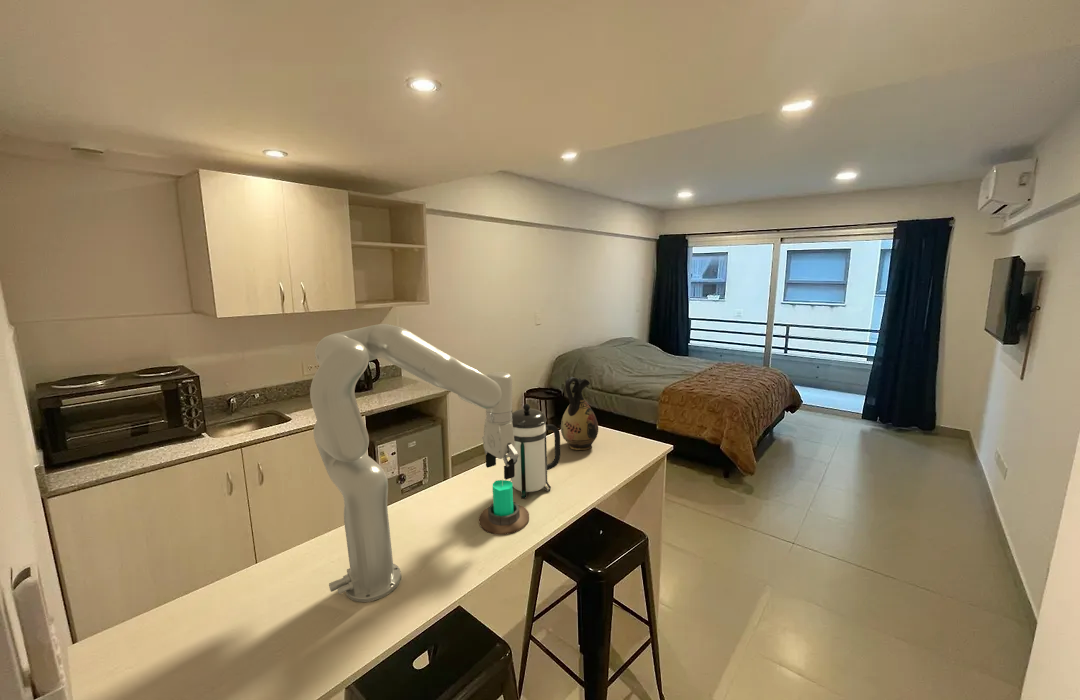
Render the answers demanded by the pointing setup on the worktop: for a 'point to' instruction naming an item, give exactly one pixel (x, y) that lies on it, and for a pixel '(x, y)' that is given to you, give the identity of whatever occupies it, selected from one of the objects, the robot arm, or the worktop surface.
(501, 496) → the candle
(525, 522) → the candle holder
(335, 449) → the robot arm
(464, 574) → the worktop surface
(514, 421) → the coffee press
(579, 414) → the ceramic jug
